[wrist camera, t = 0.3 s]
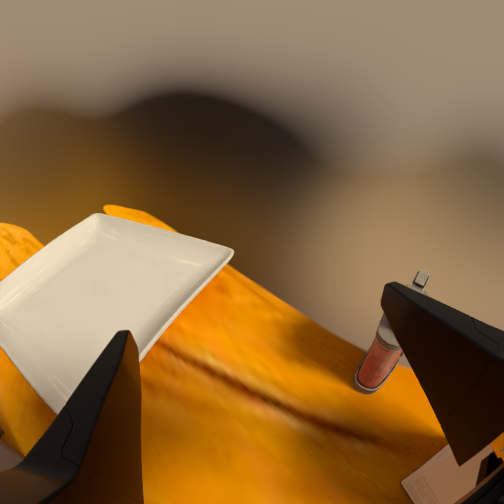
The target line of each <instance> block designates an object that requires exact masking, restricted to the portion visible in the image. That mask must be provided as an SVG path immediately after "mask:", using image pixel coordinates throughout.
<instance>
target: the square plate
mask: <svg viewBox="0 0 504 504" xmlns="http://www.w3.org/2000/svg"><path fill="white" fill-rule="evenodd" d="M233 254H234V251H233V250H232V249H231V248H228V247H225V246H221V245H218V244H214V243H211V242H208V241H204V240H201V239H197V238H194V237H190V236H186V235H183V234H179V233H175V232H172V231H168V230H164V229H161V228H157V227H153V226H149V225H145V224H141V223H138V222H134V221H130V220H126V219H122V218H118V217H113V216H109V215H105V214H100V213H95V214H93V215H91V216H89V217H88V218H86V219H85V220H83V221H82V222H80V223H79V224H77V225H75V226H74V227H72V228H71V229H69V230H68V231H66V232H65V233H63V234H62V235H60V236H59V237H57V238H56V239H54V240H53V241H52V242H50V243H49V244H47V245H46V246H45V247H43V248H42V249H41V250H39V251H38V252H37V253H35V254H34V255H33V256H31V257H30V258H29V259H27V260H26V261H25V262H24V263H23V264H21V265H20V266H19V267H18V268H16V269H15V270H14V271H13V272H12V273H10V274H9V275H8V276H7V277H6V278H4V279H3V280H2V281H1V282H0V347H1V348H2V349H3V350H4V352H5V353H6V354H7V356H8V357H9V358H10V360H11V361H12V362H13V363H14V365H15V366H16V367H17V369H18V370H19V371H20V372H21V374H22V375H23V376H24V377H25V379H26V380H27V381H28V382H29V384H30V385H31V386H32V387H33V389H34V390H35V391H36V392H37V393H38V395H39V396H40V397H41V398H42V399H43V400H44V401H45V403H46V404H47V405H48V406H49V407H50V408H51V409H52V410H53V411H54V412H55V413H56V414H57V415H58V414H59V412H60V411H61V409H62V408H63V406H64V405H66V402H67V400H68V399H69V398H70V396H71V395H72V393H73V392H74V390H75V389H76V387H77V386H78V385H79V383H80V382H81V380H82V379H83V377H84V376H85V375H86V373H87V372H88V370H89V369H90V368H91V366H92V365H93V363H94V362H95V361H96V359H97V358H98V357H99V355H100V354H101V352H102V351H103V350H104V348H105V347H106V346H107V344H108V343H109V342H110V340H111V339H112V338H113V336H114V335H115V334H116V332H117V331H119V330H130V331H131V333H132V335H133V337H134V340H135V342H136V344H137V347H138V351H139V363H140V362H141V360H142V359H143V358H144V356H145V355H146V353H147V352H148V351H149V350H150V349H151V347H152V346H153V344H154V343H155V342H156V341H157V340H158V338H159V337H160V336H161V335H162V334H163V332H164V331H165V330H166V329H167V328H168V327H169V326H170V324H171V323H172V322H173V321H174V320H175V319H176V317H177V316H178V315H179V314H180V313H181V312H182V311H183V310H184V308H185V307H186V306H187V305H188V304H189V303H190V302H191V301H192V300H193V299H194V298H195V297H196V296H197V294H198V293H199V292H200V291H201V290H202V289H203V288H204V287H205V286H206V285H207V284H208V283H209V282H210V281H211V280H212V279H213V278H214V277H215V275H216V274H217V273H218V272H219V271H220V270H221V269H222V268H223V267H224V266H225V265H226V264H227V263H228V261H229V260H230V259H231V257H232V256H233Z"/></svg>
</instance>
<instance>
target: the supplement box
mask: <svg viewBox="0 0 504 504" xmlns="http://www.w3.org/2000/svg"><path fill="white" fill-rule="evenodd" d="M492 451H493V449H492V447H491V446H490V444H489V445H488V446H487V447H485V448H484V449H483V450H482V451H480V452H479V453H478V454H476V455H475V456H474V457H472V458H471V459H470V460H468V461H467V462H466V463H464V464H463V465H461V466H460V467H459V466H458V464H457V462H456V460H455V457H454V455H453V453H452V450H451V448H450V446H449V444H447V445H446V446H445V447H444V448H443V449H442V450H440V451H439V452H438V453H437V454H436V455H434V456H433V457H432V458H431V459H430V460H428V461H427V462H426V463H425V464H424V465H422V466H421V467H420V468H419V469H417V470H416V471H415V472H413V473H412V474H411V475H409V476H408V477H407V478H405V479H404V480H403V481H401V484H402V486H403V487H404V489H405V490H406V492H407V494H408V495H409V497H410V498H411V500H412V501H413V503H414V504H453V503H455V502H456V501H458V500H459V499H460V498H462V497H463V496H464V495H466V494H467V493H468V492H470V491H471V490H472V489H473V488H475V487H476V486H475V485H476V481H477V477H478V473H479V468H480V463H481V460H483V459H484V458H485V457H486V456H487V455H489V454H490V453H491V452H492Z"/></svg>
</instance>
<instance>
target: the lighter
mask: <svg viewBox="0 0 504 504" xmlns="http://www.w3.org/2000/svg"><path fill="white" fill-rule="evenodd" d="M429 277H430V276H429V273H428V272H427V271H424V270H421V271H418V272H417V274H416V276H415V278H414V280H413V282H412V283H411V284H410V285H406V286H407V287H409V288H411V289H413V290H415V291H418V292H420V293H422V294H424V295H426V296H428V294H427V293H426V291H425V290H424V289H425V286H426V284H427V282H428V280H429ZM403 354H404V353H403V351H402V349H401V347H400V346H399V344H398V342H397V340H396V338H395V336H394V334H393V332H392V329H391V327H390V325H389V322H388V320H387V318H386V316H385V314H383V316H382V318H381V320H380V323H379V326H378V329H377V332H376V337H375V339H374V341H373V343H372V345H371V347H370V348H369V350H368V351H367V353H366V354H365V356H364V358H363V360H362V361H361V363H360V365H359V367H358V369H357V372H356V374H355V376H354V379H353V384H354V387H355V388H356V389H357V390H358V391H359V392H361V393H363V394H368V395H369V394H373V393H375V392H376V391H377V390H378V389H379V388H380V387H381V386H382V385H383V384H384V383H385V382H386V380H387V379H388V378H389V376H390V375H391V373H392V372H393V370H394V369H395V367H396V365H397V363H398V361H399V359H400V357H402V356H403Z"/></svg>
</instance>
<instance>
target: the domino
mask: <svg viewBox="0 0 504 504" xmlns="http://www.w3.org/2000/svg"><path fill="white" fill-rule="evenodd" d="M23 459H24V458H23V456H22V455H21V454H20V453H19V452H18V451H17V450H16V449H14V448H12V447H11V446H10V445H8V444H7V443H5V442H4V441H2V440H1V439H0V472H1V471H4V470H7V469H10V468H12V467H14V466H16V465H17V464H19V463H20V462H21V461H22V460H23Z"/></svg>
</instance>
